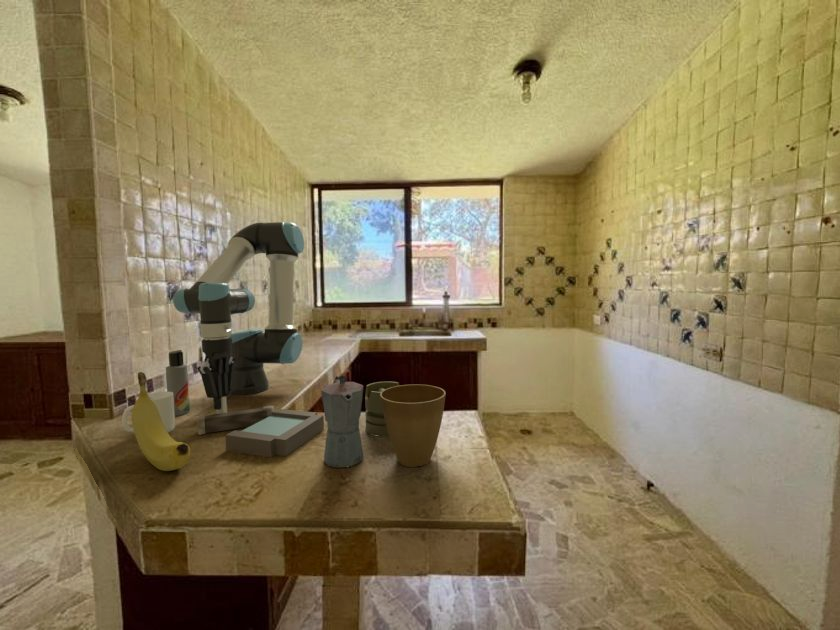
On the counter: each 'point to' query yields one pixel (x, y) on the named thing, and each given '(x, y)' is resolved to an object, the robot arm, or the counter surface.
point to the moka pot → (342, 422)
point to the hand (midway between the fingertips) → (221, 419)
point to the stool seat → (276, 433)
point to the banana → (156, 434)
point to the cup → (164, 406)
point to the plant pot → (413, 421)
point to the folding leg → (232, 419)
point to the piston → (376, 408)
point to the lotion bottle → (178, 382)
